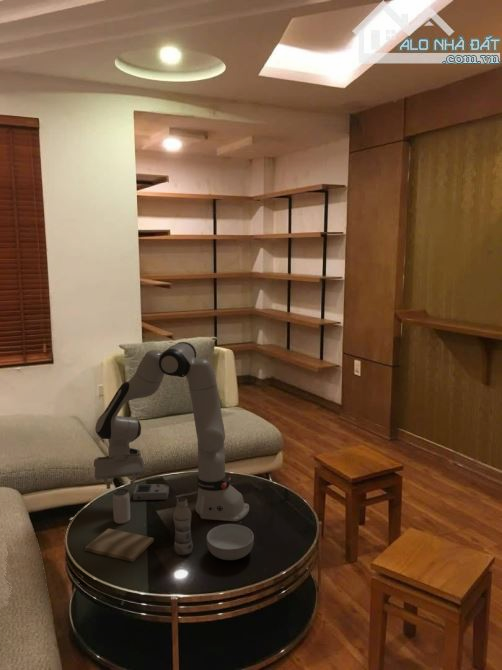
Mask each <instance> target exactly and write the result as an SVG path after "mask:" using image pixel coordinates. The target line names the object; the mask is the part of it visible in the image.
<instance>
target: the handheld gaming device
mask: <svg viewBox="0 0 502 670" xmlns="http://www.w3.org/2000/svg"><path fill="white" fill-rule="evenodd" d="M169 492H170V487H169V485H167V484H164V483H163V484H160V483H151V484H148V483H146V484H136V485H135V488H134V490H133V492H132V500H134V501H149V500H150V501H151V500H168V497H169Z"/></svg>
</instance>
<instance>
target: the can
mask: <svg viewBox="0 0 502 670" xmlns="http://www.w3.org/2000/svg"><path fill="white" fill-rule="evenodd" d="M130 501H131V499H130V493H129V491H128V489H126V488H119V489H115V490H114V491H113V494H112V512H113V521H114V522H115V524H119V525H123V524H126V523H128V522H130V521H131V502H130Z"/></svg>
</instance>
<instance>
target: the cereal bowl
mask: <svg viewBox="0 0 502 670" xmlns="http://www.w3.org/2000/svg"><path fill="white" fill-rule="evenodd" d="M254 537H255V536H254V533H253V531H252V530H251V529H250V528H248V527H247V526H245V525H241V524H237V523H236V524H235V523H226V524H221V525H220V524H219V525H218V526H215V527H213V528H211V529H210V530H209V531H208V532H207V535H206V544H207V545H206V546H207V549H208V551H209V552H210V553H211V554H212V555H213V556H214V557H215V558H218V559H221V560H223V561H237V560H239V559H243V558H244V557H246V556H247V555H248V554H249V553H250V552H251V551H252V550H253V547H254V542H255V538H254Z"/></svg>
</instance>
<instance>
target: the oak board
mask: <svg viewBox="0 0 502 670" xmlns="http://www.w3.org/2000/svg"><path fill="white" fill-rule="evenodd" d="M154 541H155V537H150V536H146V535H141V534H136V533H132V532H128V531H127V532H126V531H123V530H118V529H112V528H106V530H104V531H103V532H101V534H100V535H98V536H97V537H96V538H94V540H92V541H91V542H90V543H89V544H88V545H86V546H85V547H84V551H85V552H89V553H94V554H98V555H102V556H107V557H110V558H115V559H119V560H123V561H124V560H125V561H128V562H134V561H135V560H136V559H137V558H139V556H140V555H141V554H142V553H144V552H145V550H147V548H148V547H149V546H150V545H151V544H153V542H154Z"/></svg>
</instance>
